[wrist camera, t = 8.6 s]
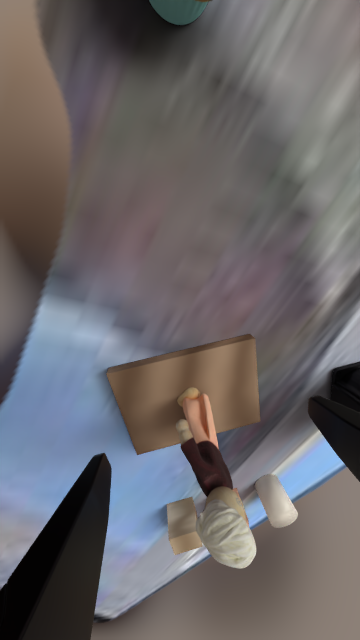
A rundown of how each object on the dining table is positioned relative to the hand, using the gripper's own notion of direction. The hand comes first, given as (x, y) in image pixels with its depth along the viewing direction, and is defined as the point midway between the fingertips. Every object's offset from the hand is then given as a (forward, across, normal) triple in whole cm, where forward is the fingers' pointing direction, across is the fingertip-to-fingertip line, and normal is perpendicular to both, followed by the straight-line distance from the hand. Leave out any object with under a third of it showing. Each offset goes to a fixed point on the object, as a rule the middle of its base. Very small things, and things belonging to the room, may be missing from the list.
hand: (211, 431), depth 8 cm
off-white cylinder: (+13, -9, +30) cm, 34 cm away
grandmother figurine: (+12, 0, +9) cm, 15 cm away
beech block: (+13, +5, +30) cm, 33 cm away
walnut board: (+13, 0, +9) cm, 16 cm away
